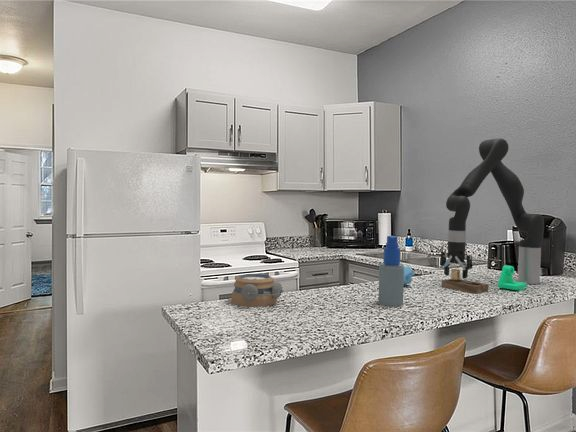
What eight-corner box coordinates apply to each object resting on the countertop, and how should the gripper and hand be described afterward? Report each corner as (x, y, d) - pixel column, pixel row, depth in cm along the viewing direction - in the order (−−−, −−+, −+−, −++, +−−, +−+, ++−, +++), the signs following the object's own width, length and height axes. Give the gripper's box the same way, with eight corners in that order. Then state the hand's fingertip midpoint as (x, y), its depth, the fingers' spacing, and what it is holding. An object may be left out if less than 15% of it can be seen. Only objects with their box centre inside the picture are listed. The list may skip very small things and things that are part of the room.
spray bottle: (379, 299, 161) (381, 234, 160) (403, 302, 158) (405, 235, 157) (376, 305, 152) (378, 236, 151) (402, 307, 149) (404, 237, 149)
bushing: (454, 286, 190) (454, 268, 190) (461, 287, 187) (461, 269, 187) (449, 287, 188) (449, 269, 188) (456, 288, 185) (457, 270, 185)
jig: (454, 284, 193) (454, 278, 193) (488, 291, 181) (488, 284, 180) (441, 287, 188) (441, 280, 187) (475, 293, 175) (475, 286, 174)
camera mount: (515, 292, 180) (516, 268, 180) (497, 289, 186) (498, 266, 186) (527, 289, 188) (528, 266, 187) (509, 286, 194) (510, 264, 193)
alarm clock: (265, 271, 167) (293, 281, 146) (265, 294, 167) (293, 308, 146) (224, 274, 158) (248, 285, 138) (224, 298, 159) (248, 313, 138)
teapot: (422, 286, 188) (423, 264, 187) (402, 290, 179) (403, 266, 179) (390, 280, 202) (390, 259, 202) (370, 283, 193) (371, 261, 193)
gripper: (476, 241, 183) (475, 278, 184) (447, 239, 195) (446, 273, 195) (466, 242, 179) (465, 280, 180) (437, 239, 190) (436, 275, 191)
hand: (455, 276), depth 187 cm, fingers open, 8 cm apart
